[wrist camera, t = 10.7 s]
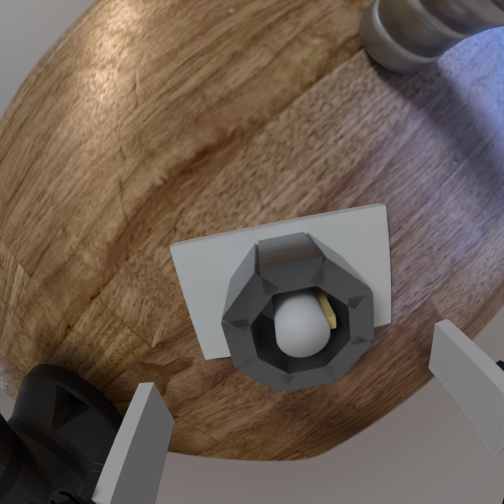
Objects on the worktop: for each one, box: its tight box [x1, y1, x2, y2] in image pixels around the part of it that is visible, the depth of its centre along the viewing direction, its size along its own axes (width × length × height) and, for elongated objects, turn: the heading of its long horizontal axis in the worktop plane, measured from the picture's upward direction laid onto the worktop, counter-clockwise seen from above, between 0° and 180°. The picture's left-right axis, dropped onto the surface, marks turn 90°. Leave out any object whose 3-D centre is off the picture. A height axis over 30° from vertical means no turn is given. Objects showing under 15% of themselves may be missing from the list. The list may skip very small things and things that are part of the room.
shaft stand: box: [170, 203, 391, 360], centre depth 19 cm, size 16×10×8 cm, turn 102°
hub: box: [221, 232, 374, 392], centre depth 19 cm, size 8×8×6 cm
